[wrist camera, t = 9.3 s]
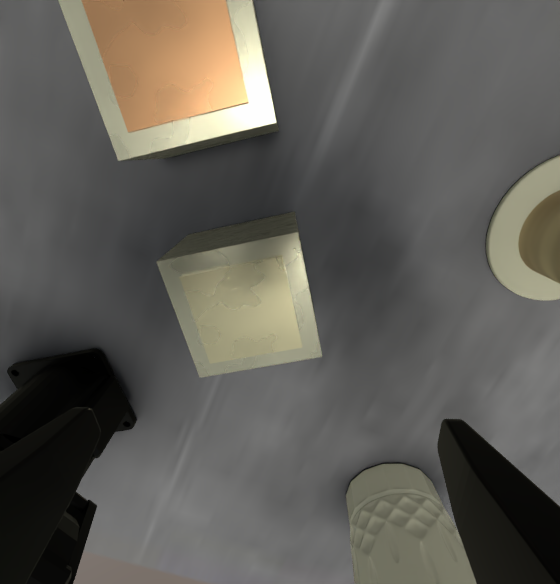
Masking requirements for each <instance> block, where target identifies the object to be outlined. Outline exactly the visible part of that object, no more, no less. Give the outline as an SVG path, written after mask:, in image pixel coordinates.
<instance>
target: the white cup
mask: <svg viewBox="0 0 560 584" xmlns="http://www.w3.org/2000/svg"><path fill="white" fill-rule="evenodd" d="M346 501H347V509H348V516H349V524H350V544H351V553H352V562H353V573H354V583H355V584H477V583H476V580H475V577H474V575H473V572H472V569H471V566H470V563H469V560H468V558H467V555H466V552H465V549H464V546H463V543H462V541H461V538H460V535H459V533H458V531H457V529H456V527H455V525H454V523H453V521H452V520H451V518H450V516H449V515H448V513H447V512H446V510H445V509H444V506H443V504H442V502H441V500H440V498H439V496H438V494H437V492H436V490H435V488H434V486H433V484H432V482H431V480H430V479H429V478H428V477H427V476H426V475H425V474H424V473H423V472H422V471H421V470H420V469H417V468H414V467H411V466H408V465H405V464H381V465H378V466H375V467H372V468H369V469H366V470H364V471H363V472H361V473H360V474H359V475H358V476H357V477H356V478H354V479H353V480H352V481H351V483H350V485H349V488H348V491H347V494H346Z"/></svg>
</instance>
